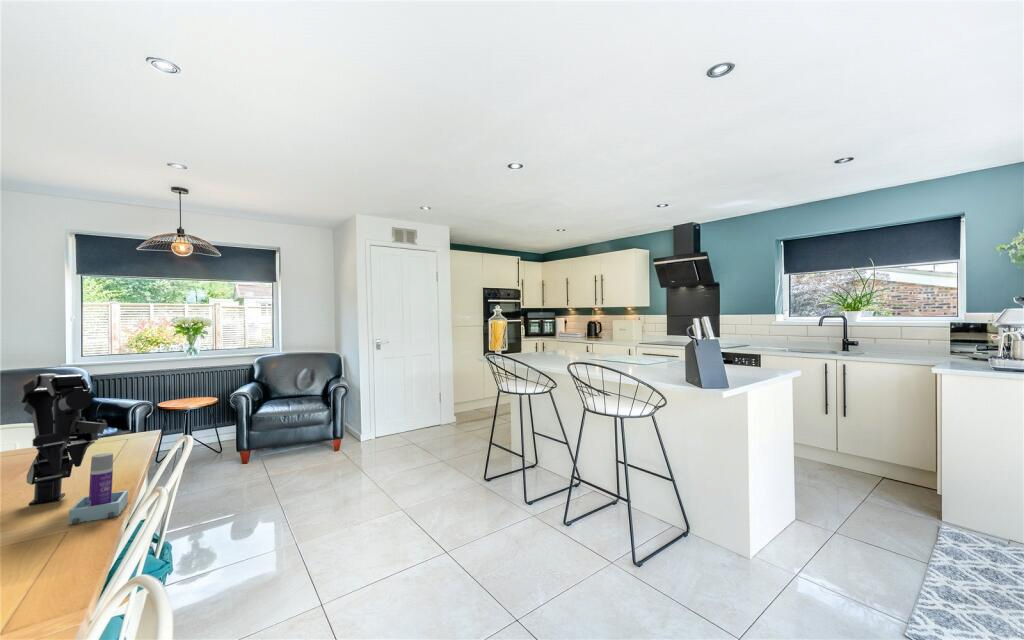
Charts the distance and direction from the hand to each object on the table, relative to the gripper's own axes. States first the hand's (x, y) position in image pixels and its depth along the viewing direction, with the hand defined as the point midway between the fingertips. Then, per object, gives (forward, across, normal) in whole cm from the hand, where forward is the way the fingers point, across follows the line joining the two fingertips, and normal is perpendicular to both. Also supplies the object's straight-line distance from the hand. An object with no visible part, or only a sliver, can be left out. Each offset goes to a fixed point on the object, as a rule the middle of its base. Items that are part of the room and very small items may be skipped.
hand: (68, 468), depth 123 cm
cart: (+15, -4, -9) cm, 18 cm away
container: (+13, -4, -9) cm, 17 cm away
